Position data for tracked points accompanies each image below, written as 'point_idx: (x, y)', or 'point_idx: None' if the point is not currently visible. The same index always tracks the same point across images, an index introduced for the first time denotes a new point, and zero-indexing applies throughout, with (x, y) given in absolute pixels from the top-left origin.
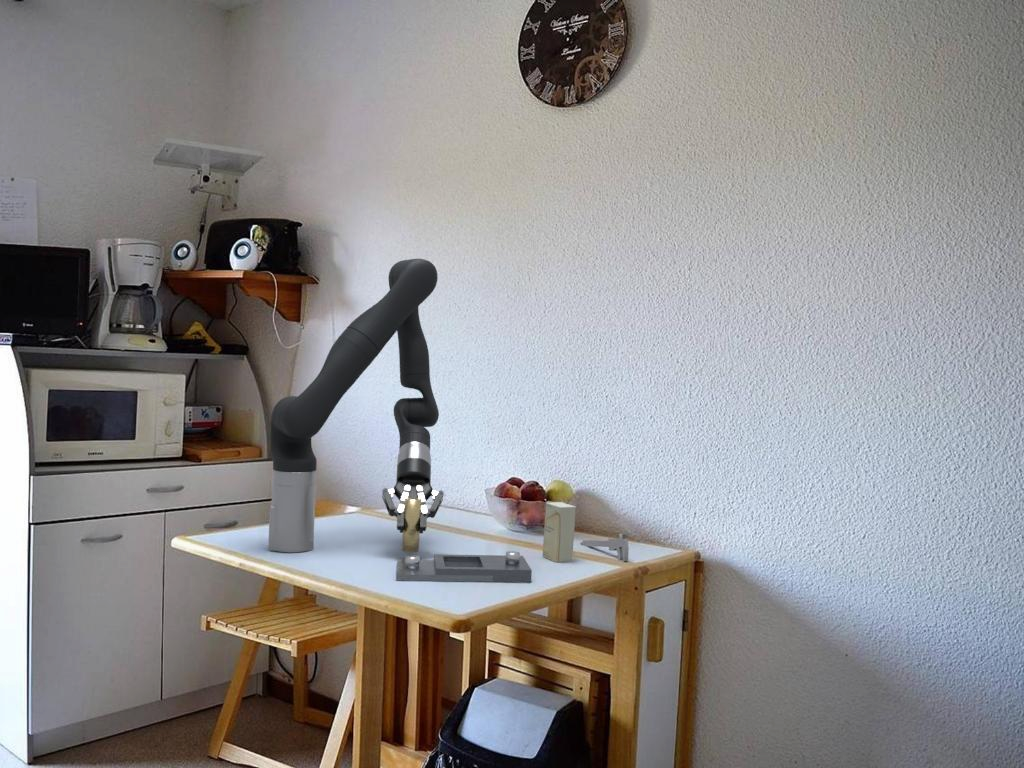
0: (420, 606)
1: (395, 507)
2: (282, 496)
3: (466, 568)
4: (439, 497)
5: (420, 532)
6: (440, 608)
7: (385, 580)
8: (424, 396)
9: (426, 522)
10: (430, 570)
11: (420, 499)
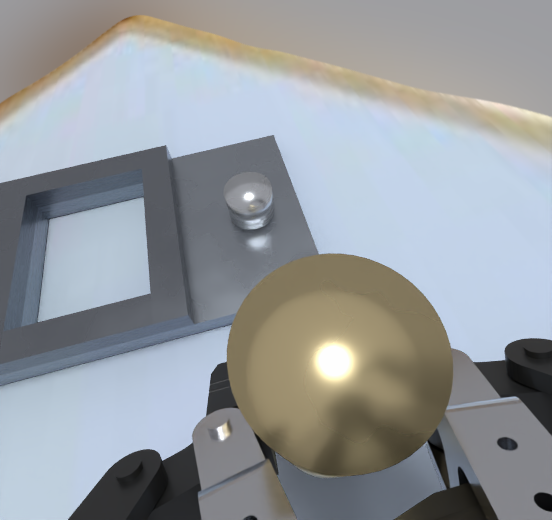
0: (190, 42)
1: (523, 393)
2: None
3: (80, 170)
4: None
5: None
6: (156, 44)
7: (301, 143)
8: None
9: (210, 386)
10: (191, 192)
11: (236, 337)
